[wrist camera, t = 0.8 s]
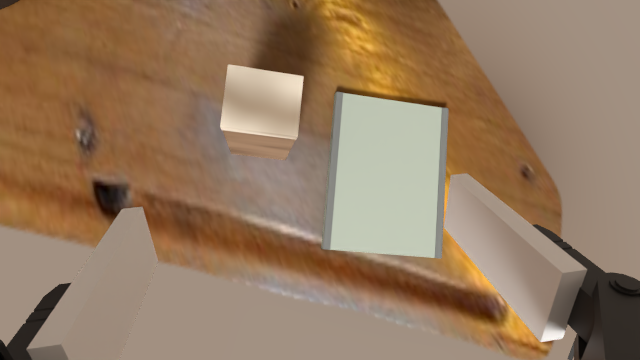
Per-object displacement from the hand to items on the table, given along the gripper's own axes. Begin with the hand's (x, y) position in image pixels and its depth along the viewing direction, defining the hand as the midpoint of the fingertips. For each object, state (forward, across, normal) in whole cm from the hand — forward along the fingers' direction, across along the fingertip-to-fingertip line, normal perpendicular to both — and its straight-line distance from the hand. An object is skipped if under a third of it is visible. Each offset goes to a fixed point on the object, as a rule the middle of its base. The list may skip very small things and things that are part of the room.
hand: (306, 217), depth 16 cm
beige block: (+26, -2, -5) cm, 27 cm away
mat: (+24, +12, -10) cm, 29 cm away
